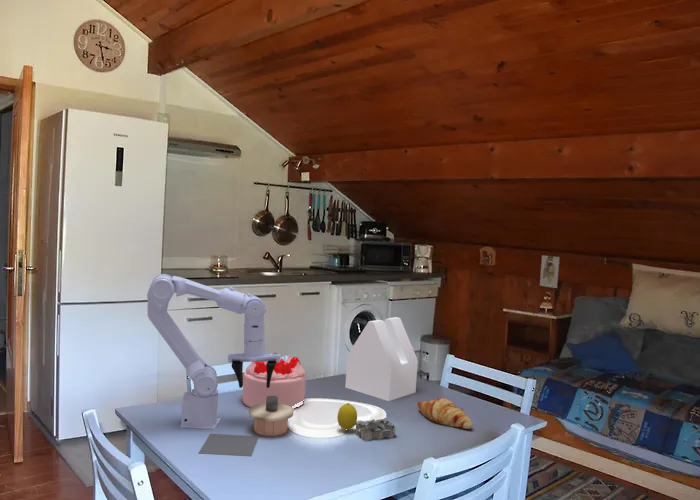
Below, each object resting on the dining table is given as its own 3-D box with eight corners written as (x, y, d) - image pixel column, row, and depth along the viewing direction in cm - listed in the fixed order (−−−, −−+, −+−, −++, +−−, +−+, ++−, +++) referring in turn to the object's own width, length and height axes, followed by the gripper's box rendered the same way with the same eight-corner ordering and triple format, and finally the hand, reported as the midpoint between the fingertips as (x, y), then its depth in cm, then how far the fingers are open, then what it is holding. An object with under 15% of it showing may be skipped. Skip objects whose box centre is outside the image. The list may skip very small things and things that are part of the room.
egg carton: (362, 442, 162) (363, 427, 161) (352, 432, 169) (353, 418, 168) (398, 439, 166) (399, 424, 165) (386, 429, 173) (387, 415, 172)
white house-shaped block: (345, 387, 210) (349, 317, 209) (372, 380, 222) (376, 313, 220) (388, 401, 198) (393, 326, 196) (415, 392, 209) (420, 322, 208)
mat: (198, 454, 147) (198, 453, 147) (210, 435, 160) (210, 433, 160) (251, 457, 147) (251, 456, 147) (258, 437, 160) (258, 436, 160)
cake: (257, 389, 202) (260, 347, 201) (313, 397, 197) (316, 354, 196) (231, 406, 184) (233, 360, 183) (292, 416, 178) (294, 369, 177)
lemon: (354, 435, 165) (356, 407, 165) (334, 433, 166) (336, 404, 166) (357, 428, 171) (359, 401, 170) (338, 426, 172) (340, 398, 171)
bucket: (251, 435, 161) (252, 417, 160) (256, 423, 170) (257, 406, 169) (285, 437, 161) (286, 419, 161) (288, 425, 170) (289, 408, 170)
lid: (244, 419, 159) (245, 402, 159) (254, 404, 171) (255, 389, 171) (289, 422, 158) (290, 406, 158) (296, 408, 170) (297, 392, 170)
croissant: (476, 440, 177) (486, 415, 178) (459, 431, 170) (469, 405, 172) (422, 418, 192) (431, 394, 194) (404, 409, 186) (414, 384, 188)
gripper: (225, 342, 165) (226, 391, 166) (278, 342, 165) (278, 391, 166) (230, 337, 172) (231, 383, 173) (281, 337, 172) (281, 383, 173)
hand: (254, 386), depth 170 cm, fingers open, 7 cm apart
